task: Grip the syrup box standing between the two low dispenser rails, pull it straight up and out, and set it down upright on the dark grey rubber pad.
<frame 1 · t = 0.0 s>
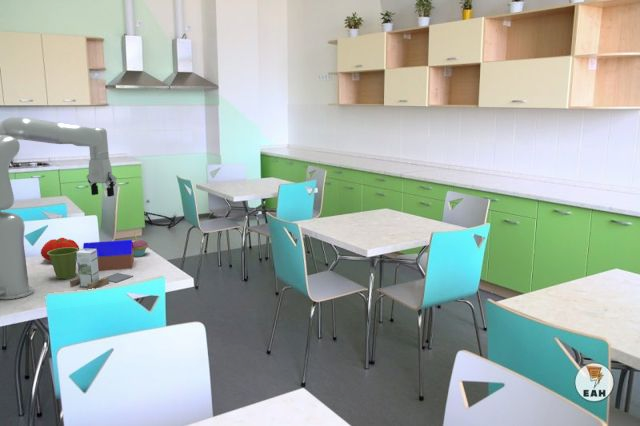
hand: (102, 195, 242), 31 cm above the table, tool pointing down, fingers open, 9 cm apart
dispenser rails: (89, 285, 219), on the table
syrup box: (90, 285, 219), on the table
house: (110, 267, 244), on the table
tomato: (61, 260, 253), on the table
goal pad: (116, 278, 227), on the table
cupcake: (139, 255, 261), on the table
plant pot: (65, 277, 229), on the table
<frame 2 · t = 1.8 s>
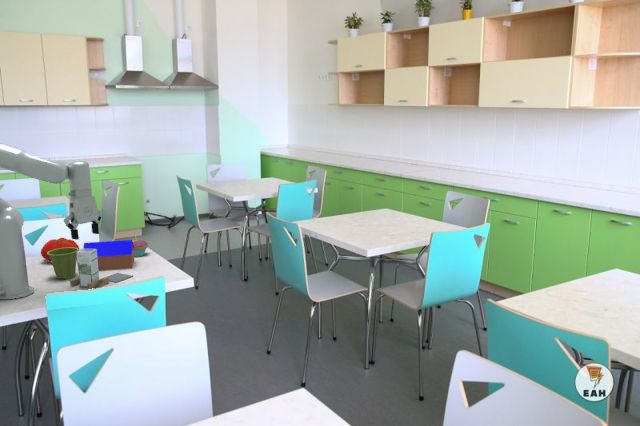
hand: (85, 236, 215), 20 cm above the table, tool pointing down, fingers open, 9 cm apart
nothing on the table moved.
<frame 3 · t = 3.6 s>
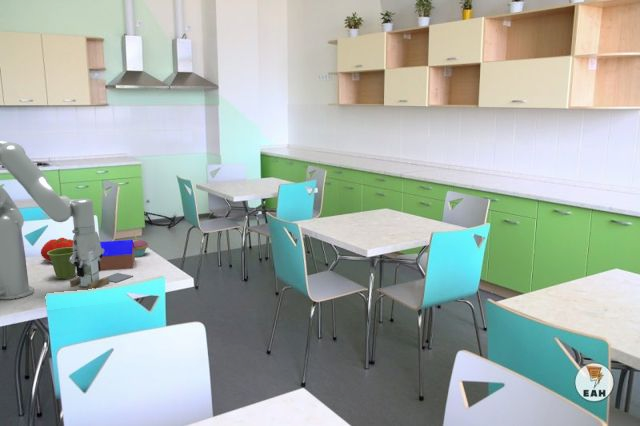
hand: (89, 273, 218), 5 cm above the table, tool pointing down, fingers closed on syrup box, 7 cm apart
syrup box: (90, 285, 219), on the table, touching gripper
everything else where it was.
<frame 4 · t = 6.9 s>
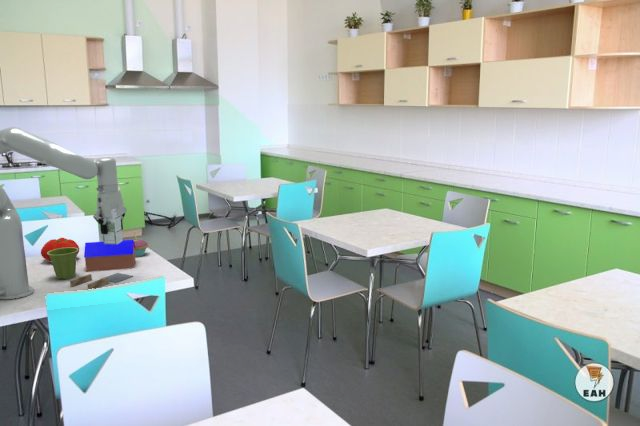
hand: (112, 231, 223), 20 cm above the table, tool pointing down, fingers closed on syrup box, 7 cm apart
syrup box: (113, 243, 224), point 15 cm above the table, touching gripper
everything else where it was.
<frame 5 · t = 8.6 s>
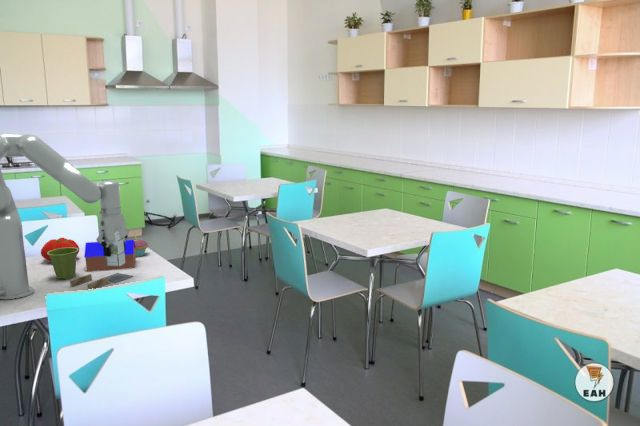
hand: (115, 253, 225), 11 cm above the table, tool pointing down, fingers closed on syrup box, 7 cm apart
syrup box: (116, 265, 226), point 6 cm above the table, touching gripper
everything else where it was.
when the fingers open (6 cm above the table, at t = 10.0 s): syrup box stays where it is, resting on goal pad.
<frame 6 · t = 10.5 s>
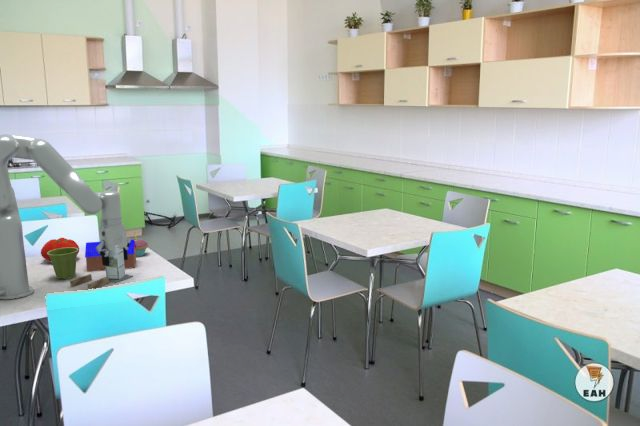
hand: (115, 262, 225), 7 cm above the table, tool pointing down, fingers open, 9 cm apart
syrup box: (116, 277, 227), resting on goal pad
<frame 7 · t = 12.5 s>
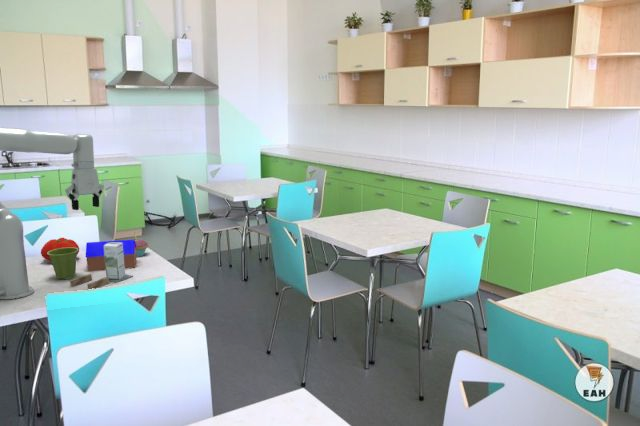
hand: (85, 208, 220), 30 cm above the table, tool pointing down, fingers open, 9 cm apart
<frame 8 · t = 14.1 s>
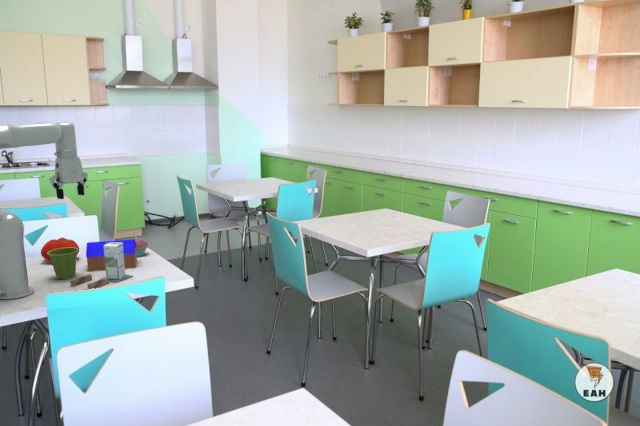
hand: (71, 196, 220), 34 cm above the table, tool pointing down, fingers open, 9 cm apart
at the end: syrup box inside the target area on the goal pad (0.3 cm from its centre), point 0.2 cm above the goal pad's base; syrup box tilted 0°; the gripper is holding nothing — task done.
